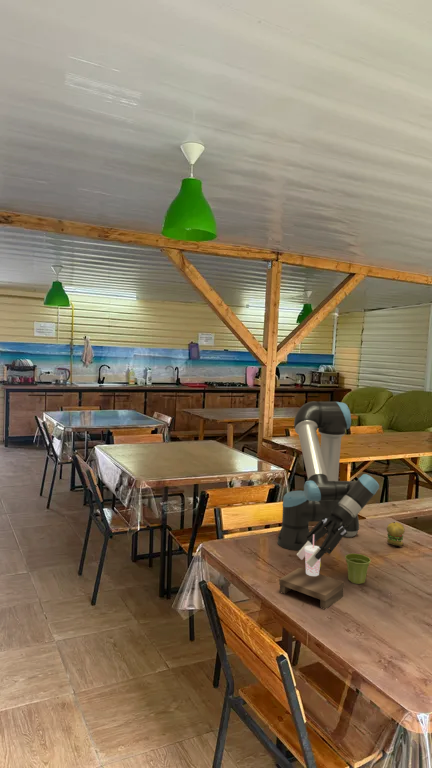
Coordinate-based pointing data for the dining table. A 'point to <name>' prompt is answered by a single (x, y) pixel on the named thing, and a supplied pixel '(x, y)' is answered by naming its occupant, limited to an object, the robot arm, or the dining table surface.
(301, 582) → the walnut shelf
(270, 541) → the dining table surface
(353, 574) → the plant pot
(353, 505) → the robot arm
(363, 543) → the dining table surface
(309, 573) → the beverage cup
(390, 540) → the hamburger
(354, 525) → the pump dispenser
